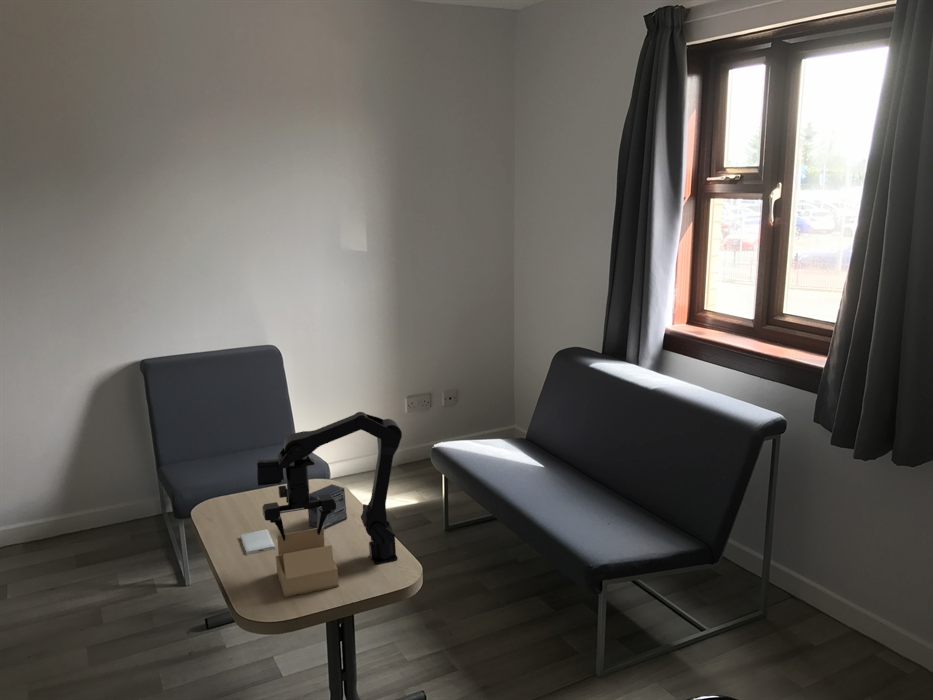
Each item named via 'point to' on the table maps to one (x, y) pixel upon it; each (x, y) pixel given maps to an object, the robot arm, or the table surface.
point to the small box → (336, 514)
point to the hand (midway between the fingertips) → (301, 537)
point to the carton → (305, 580)
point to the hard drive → (257, 541)
